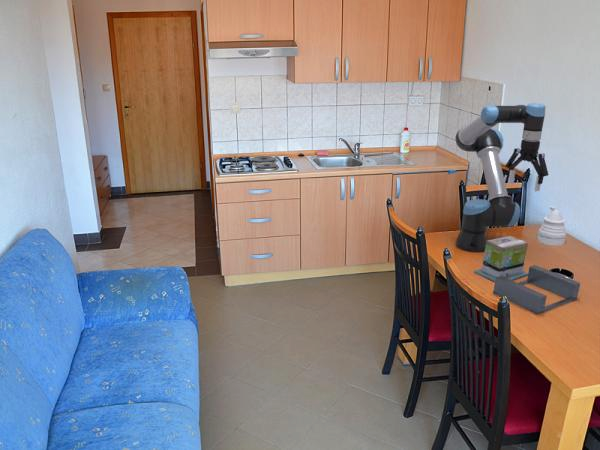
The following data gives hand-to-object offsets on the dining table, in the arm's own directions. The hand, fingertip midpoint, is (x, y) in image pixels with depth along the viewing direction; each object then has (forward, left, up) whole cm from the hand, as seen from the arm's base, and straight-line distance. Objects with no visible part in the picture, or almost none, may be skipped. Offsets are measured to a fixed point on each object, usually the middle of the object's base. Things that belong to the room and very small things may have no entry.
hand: (523, 187), depth 239 cm
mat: (+9, -19, -35) cm, 41 cm away
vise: (+30, -22, -35) cm, 51 cm away
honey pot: (-5, +37, -35) cm, 51 cm away
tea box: (+9, -19, -34) cm, 40 cm away
